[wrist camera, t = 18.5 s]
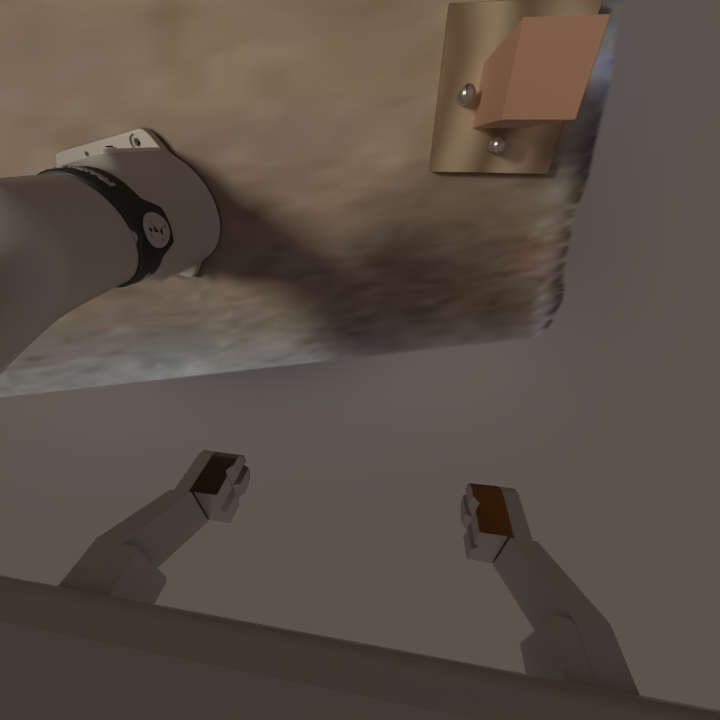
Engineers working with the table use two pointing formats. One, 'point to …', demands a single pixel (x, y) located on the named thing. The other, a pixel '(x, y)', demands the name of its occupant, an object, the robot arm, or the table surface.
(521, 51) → the terracotta post
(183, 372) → the table surface
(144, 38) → the table surface
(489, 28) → the pin plate
